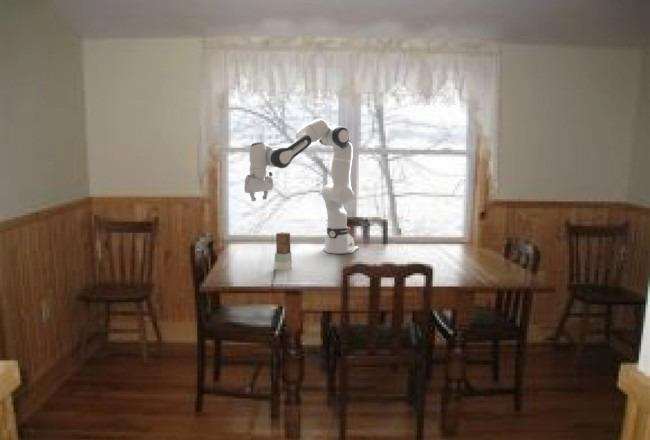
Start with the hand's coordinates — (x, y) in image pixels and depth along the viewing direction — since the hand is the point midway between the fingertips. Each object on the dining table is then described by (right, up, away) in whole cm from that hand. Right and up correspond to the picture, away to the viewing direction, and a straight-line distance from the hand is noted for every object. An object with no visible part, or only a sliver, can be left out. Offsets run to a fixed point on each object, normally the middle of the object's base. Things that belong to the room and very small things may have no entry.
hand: (259, 200), depth 286 cm
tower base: (+13, -35, -10) cm, 39 cm away
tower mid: (+13, -31, -11) cm, 35 cm away
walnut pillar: (+13, -27, -11) cm, 32 cm away
